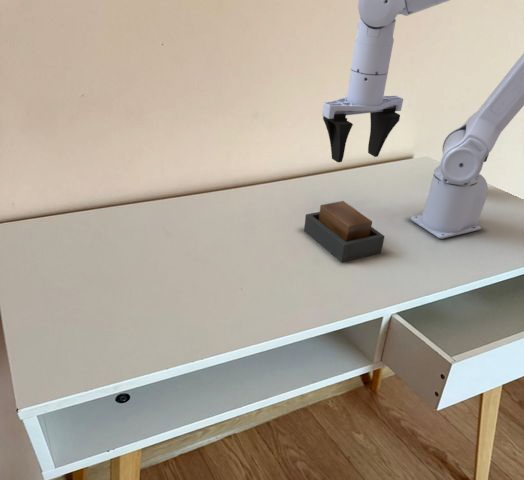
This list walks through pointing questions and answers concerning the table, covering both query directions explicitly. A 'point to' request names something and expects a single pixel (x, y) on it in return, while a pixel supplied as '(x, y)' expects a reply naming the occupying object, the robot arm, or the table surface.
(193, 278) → the table surface
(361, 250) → the dark gray rectangular tray
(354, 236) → the walnut block
